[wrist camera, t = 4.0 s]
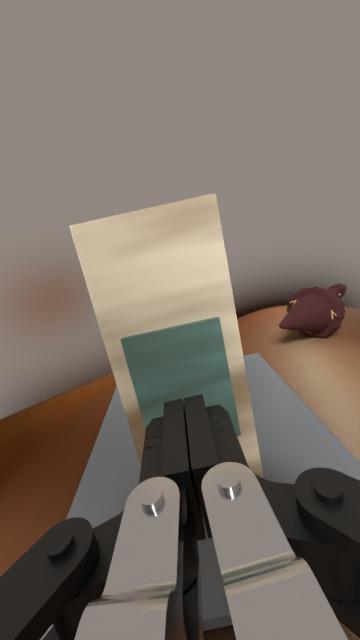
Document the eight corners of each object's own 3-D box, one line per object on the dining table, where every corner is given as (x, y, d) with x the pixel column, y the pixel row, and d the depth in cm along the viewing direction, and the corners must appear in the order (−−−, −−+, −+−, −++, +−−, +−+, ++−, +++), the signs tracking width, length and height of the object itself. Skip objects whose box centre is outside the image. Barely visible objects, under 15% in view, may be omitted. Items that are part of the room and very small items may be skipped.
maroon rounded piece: (318, 306, 28) (375, 284, 36) (259, 289, 33) (320, 273, 42) (305, 364, 31) (361, 331, 39) (252, 340, 36) (311, 315, 44)
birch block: (270, 512, 14) (217, 191, 11) (160, 536, 14) (66, 224, 11) (247, 454, 19) (202, 209, 15) (161, 472, 19) (94, 233, 15)
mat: (454, 576, 11) (454, 565, 11) (17, 671, 11) (12, 662, 11) (258, 357, 34) (257, 352, 34) (118, 387, 34) (117, 383, 34)
